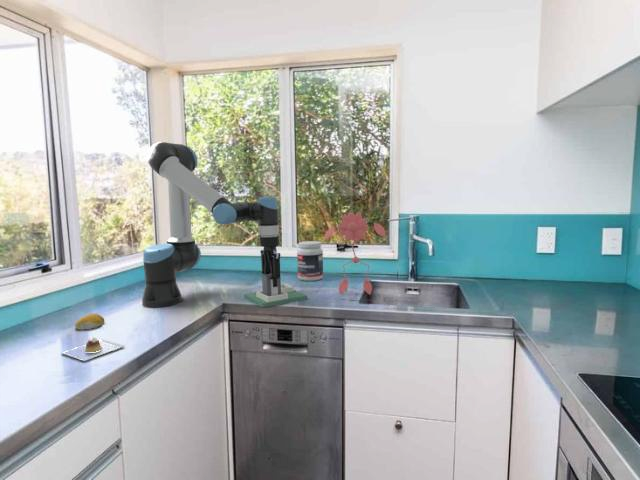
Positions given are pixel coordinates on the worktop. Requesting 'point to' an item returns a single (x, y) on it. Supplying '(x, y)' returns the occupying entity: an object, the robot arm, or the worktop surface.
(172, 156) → the robot arm
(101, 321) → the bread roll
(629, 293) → the worktop surface
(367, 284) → the pink flower sprig
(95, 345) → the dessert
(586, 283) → the worktop surface
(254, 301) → the board
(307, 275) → the supplement tub
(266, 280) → the plug
